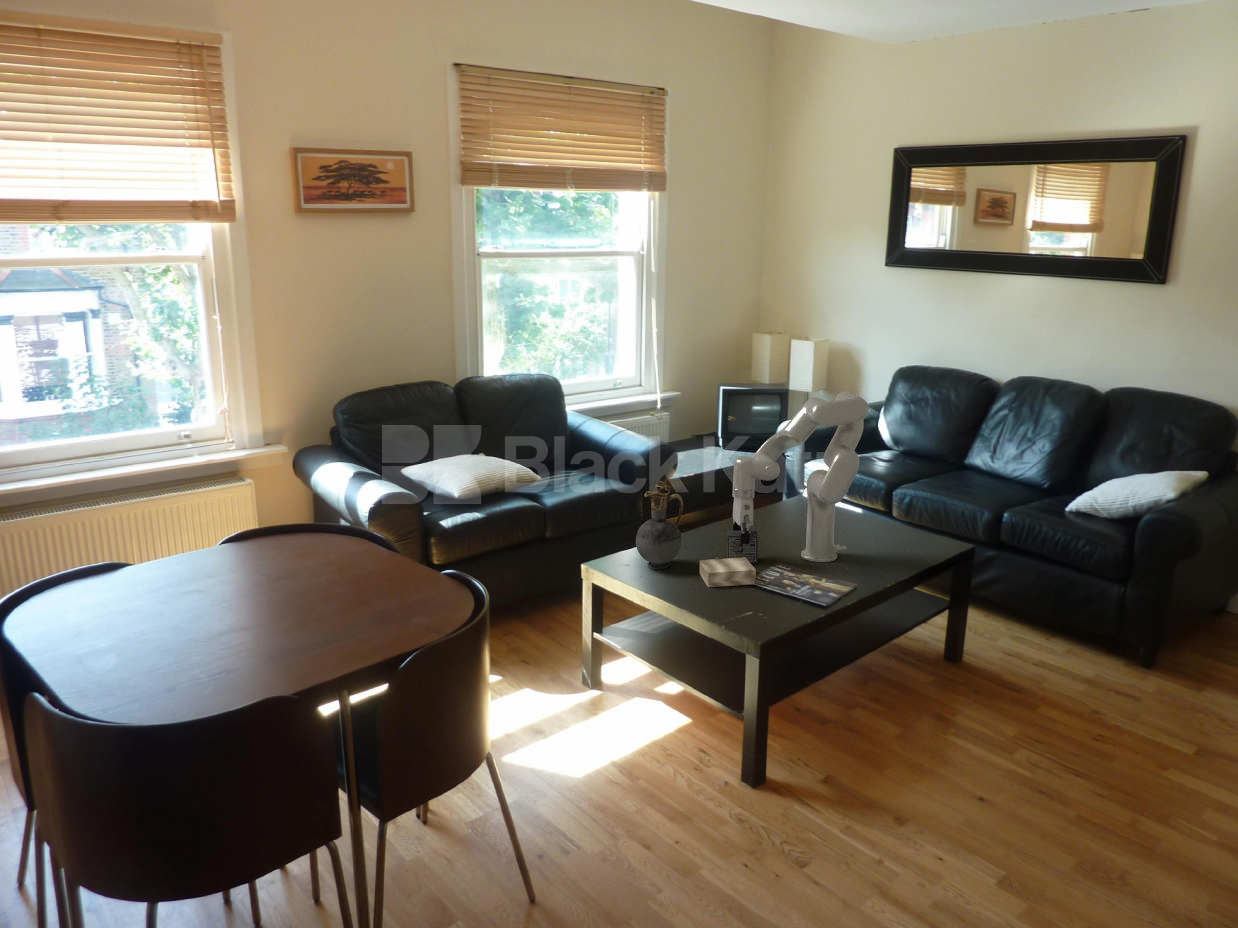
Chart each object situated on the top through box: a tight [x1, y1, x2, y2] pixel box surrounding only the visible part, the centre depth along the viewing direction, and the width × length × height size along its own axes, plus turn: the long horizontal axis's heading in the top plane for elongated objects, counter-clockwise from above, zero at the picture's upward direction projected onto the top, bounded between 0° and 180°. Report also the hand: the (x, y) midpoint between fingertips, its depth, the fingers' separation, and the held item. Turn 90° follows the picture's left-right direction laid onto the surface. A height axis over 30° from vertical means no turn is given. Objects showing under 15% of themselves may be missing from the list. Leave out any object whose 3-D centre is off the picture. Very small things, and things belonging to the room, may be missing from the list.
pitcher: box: [635, 481, 684, 570], centre depth 326 cm, size 11×19×30 cm, turn 130°
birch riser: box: [699, 557, 757, 588], centre depth 315 cm, size 16×12×5 cm
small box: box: [727, 530, 759, 565], centre depth 331 cm, size 11×6×10 cm, turn 84°
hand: (740, 539), depth 331 cm, fingers open, 9 cm apart
